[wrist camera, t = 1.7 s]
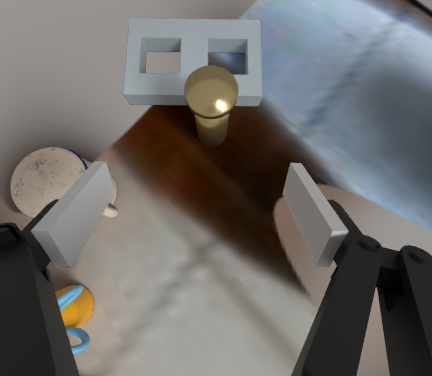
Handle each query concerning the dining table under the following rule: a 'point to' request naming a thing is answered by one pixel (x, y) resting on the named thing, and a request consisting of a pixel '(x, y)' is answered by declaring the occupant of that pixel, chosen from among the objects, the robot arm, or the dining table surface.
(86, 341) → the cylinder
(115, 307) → the dining table surface
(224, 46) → the jig plate
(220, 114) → the brass sleeve
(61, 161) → the teacup with lid
